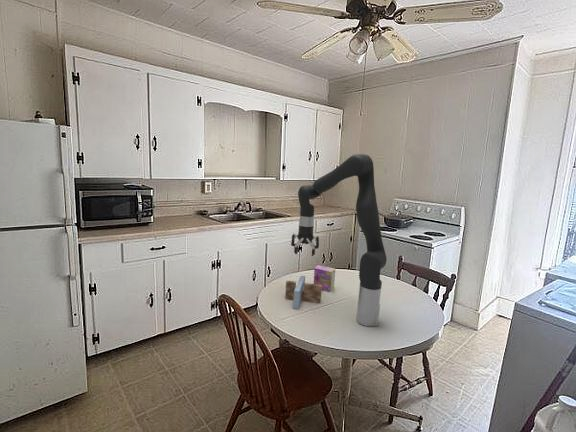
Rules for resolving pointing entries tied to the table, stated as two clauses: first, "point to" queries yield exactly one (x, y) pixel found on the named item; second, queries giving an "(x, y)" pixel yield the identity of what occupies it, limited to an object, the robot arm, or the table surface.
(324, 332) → the table surface
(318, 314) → the table surface
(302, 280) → the notched plate
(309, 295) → the slotted board
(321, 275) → the box
